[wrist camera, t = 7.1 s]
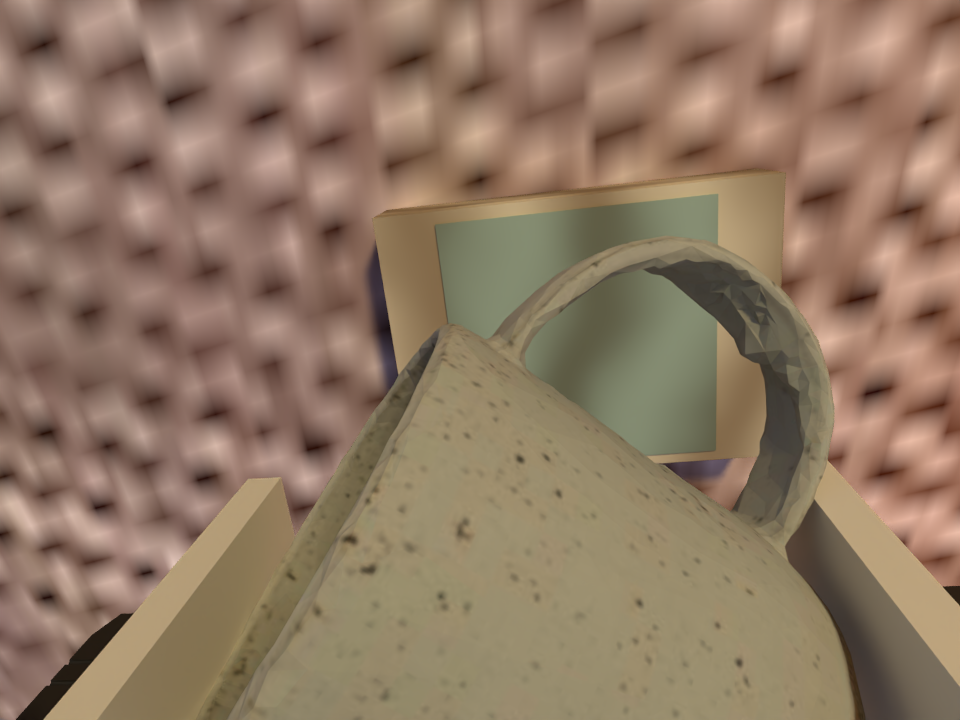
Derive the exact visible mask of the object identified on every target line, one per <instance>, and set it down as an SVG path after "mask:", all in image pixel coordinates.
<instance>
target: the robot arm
mask: <svg viewBox="0 0 960 720" xmlns="http://www.w3.org/2000/svg"><path fill="white" fill-rule="evenodd" d="M294 539H295V535H294V531H293V527H292V522H291V518H290V514H289V510H288V505H287V501H286V497H285V492H284V488H283V484H282V480H281V477H277V478H259V479H248V480H247V481H246V482H245V484H244V485H243V486H242V487H241V488H240V489H239V491H238V492H237V493H236V494H235V495H234V496H233V498H232V499H231V500H230V501H229V502H228V503H227V505H226V506H225V507H224V508H223V509H222V511H221V512H220V513H219V514H218V515H217V516H216V518H215V519H214V520H213V521H212V522H211V523H210V525H209V526H208V527H207V528H206V529H205V530H204V532H203V533H202V534H201V535H200V536H199V538H198V539H197V540H196V541H195V542H194V543H193V545H192V546H191V547H190V548H189V549H188V550H187V552H186V553H185V554H184V555H183V556H182V557H181V559H180V560H179V561H178V562H177V563H176V565H175V566H174V567H173V568H172V569H171V570H170V572H169V573H168V574H167V575H166V576H165V577H164V579H163V580H162V581H161V582H160V583H159V584H158V586H157V587H156V588H155V589H154V590H153V592H152V593H151V594H150V595H149V596H148V597H147V599H146V600H145V601H144V602H143V603H142V604H141V606H140V607H139V608H138V609H137V610H136V611H135V613H132V614H120V615H119V616H118V617H116V618H115V619H113V620H112V621H111V622H109V623H108V624H107V625H105V626H104V627H102V628H101V629H100V630H98V631H97V632H95V633H94V634H93V635H91V637H90V638H89V639H88V640H87V641H86V642H85V643H84V644H83V645H82V647H81V648H80V649H79V650H78V651H77V652H76V653H75V654H74V655H73V657H72V658H71V659H70V662H69V664H68V665H64V667H63V668H62V669H61V670H60V671H59V672H58V673H57V674H56V675H55V677H54V678H53V679H52V680H51V684H50V686H46V687H45V688H44V689H43V690H42V691H41V692H40V693H39V694H38V695H37V697H36V698H35V699H34V700H33V701H32V702H31V703H30V704H29V705H28V707H27V708H26V709H25V710H24V711H23V712H22V713H21V714H20V715H19V717H18V718H17V719H16V720H196V718H197V716H198V714H199V711H200V710H201V708H202V706H203V704H204V702H205V700H206V698H207V696H208V694H209V693H210V691H211V689H212V688H213V686H214V684H215V682H216V680H217V678H218V676H219V675H220V673H221V671H222V669H223V668H224V666H225V664H226V663H227V661H228V659H229V657H230V655H231V654H232V652H233V650H234V647H235V645H236V643H237V641H238V639H239V637H240V635H241V634H242V631H243V629H244V627H245V625H246V623H247V621H248V619H249V617H250V615H251V613H252V611H253V609H254V607H255V606H256V604H257V603H258V601H259V600H260V598H261V596H262V595H263V593H264V591H265V589H266V587H267V585H268V583H269V581H270V579H271V577H272V575H273V573H274V571H275V569H276V567H277V566H278V564H279V563H280V561H281V560H282V558H283V556H284V555H285V553H286V552H287V550H288V549H289V547H290V546H291V544H292V542H293V540H294ZM785 550H786V554H787V557H788V561H789V563H790V564H791V565H792V566H793V568H794V569H795V570H796V571H797V572H798V573H799V574H800V575H801V576H802V577H803V578H804V579H805V580H806V581H807V582H808V583H809V584H810V585H811V586H812V588H813V589H814V590H815V592H816V593H817V594H818V596H819V597H820V598H821V599H822V601H823V602H824V603H825V605H826V606H827V607H828V609H829V610H830V612H831V614H832V616H833V617H834V619H835V621H836V623H837V625H838V626H839V628H840V630H841V632H842V634H843V636H844V639H845V641H846V644H847V646H848V649H849V651H850V653H851V657H852V661H853V665H854V670H855V674H856V678H857V683H858V687H859V691H860V696H861V700H862V704H863V708H864V713H865V719H866V720H960V586H946V587H942V586H941V585H940V584H939V582H938V581H937V580H936V579H935V578H934V577H933V576H932V575H931V574H930V573H929V571H928V570H927V569H926V568H925V567H924V566H923V565H922V564H921V563H920V562H919V560H918V559H917V558H916V557H915V556H914V555H913V554H912V553H911V552H910V551H909V549H908V548H907V547H906V546H905V545H904V544H903V543H902V542H901V541H900V540H899V538H898V537H897V536H896V535H895V534H894V533H893V532H892V531H891V530H890V529H889V527H888V526H887V525H886V524H885V523H884V522H883V521H882V520H881V519H880V518H879V516H878V515H877V514H876V513H875V512H874V511H873V510H872V509H871V508H870V507H869V505H868V504H867V503H866V502H865V501H864V500H863V499H862V498H861V497H860V496H859V494H858V493H857V492H856V491H855V490H854V489H853V488H852V487H851V486H850V485H849V483H848V482H847V481H846V480H845V479H844V478H843V477H842V476H841V475H840V474H839V472H838V471H837V470H836V469H835V468H834V467H833V466H832V465H831V464H830V463H829V461H828V460H827V465H826V469H825V471H824V474H823V477H822V479H821V481H820V483H819V485H818V488H817V490H816V494H815V497H814V501H813V502H812V504H811V506H810V508H809V509H808V511H807V513H806V515H805V517H804V519H803V521H802V523H801V525H800V527H799V528H798V529H797V530H796V532H795V533H794V534H793V535H792V536H791V537H790V539H789V541H788V542H787V544H786V546H785Z"/></svg>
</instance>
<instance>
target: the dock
mask: <svg viewBox="0 0 960 720" xmlns="http://www.w3.org/2000/svg"><path fill="white" fill-rule="evenodd" d="M785 182H786V173H785V172H778V171H771V170H764V169H750V170H741V171H732V172H723V173H714V174H705V175H696V176H687V177H678V178H670V179H661V180H652V181H643V182H634V183H625V184H616V185H607V186H598V187H589V188H580V189H571V190H562V191H554V192H545V193H536V194H527V195H518V196H509V197H500V198H491V199H482V200H473V201H464V202H455V203H446V204H438V205H429V206H420V207H411V208H402V209H393V210H387V211H385V212H383V213H381V214H379V215H378V216H376V217H374V218H372V220H373V226H374V232H375V238H376V244H377V250H378V256H379V262H380V268H381V274H382V280H383V286H384V292H385V298H386V304H387V310H388V316H389V322H390V328H391V334H392V340H393V346H394V351H395V357H396V363H397V369H398V375H399V374H400V372H401V371H402V370H403V369H404V368H405V366H406V365H407V364H408V362H409V361H410V360H411V358H412V357H413V356H414V355H415V354H416V353H417V351H418V350H419V349H420V347H421V345H422V344H423V343H424V342H425V341H426V340H427V339H428V338H429V337H430V336H431V335H432V334H433V333H434V332H435V331H436V330H437V329H438V328H440V327H441V326H442V325H445V324H449V323H452V324H457V325H462V326H463V327H465V328H467V329H468V330H470V331H472V332H473V333H475V334H477V335H479V336H480V337H482V338H484V339H488V338H490V337H491V336H492V335H493V334H494V333H495V332H496V330H497V329H498V328H499V326H500V325H501V324H502V322H503V321H504V320H505V319H506V318H507V317H508V316H509V315H510V314H511V313H512V312H513V311H514V310H515V309H517V308H518V307H519V306H520V305H521V304H522V303H523V302H524V301H525V300H526V299H527V298H529V297H530V296H531V295H532V294H533V293H534V292H535V291H536V290H538V289H539V288H540V287H541V286H543V285H544V284H545V283H547V282H548V281H549V280H550V279H552V278H553V277H554V276H555V275H557V274H558V273H559V272H561V271H563V270H565V269H567V268H569V267H571V266H573V265H575V264H576V263H578V262H580V261H582V260H585V259H587V258H589V257H591V256H593V255H595V254H598V253H600V252H603V251H605V250H607V249H609V248H612V247H615V246H619V245H622V244H625V243H628V242H633V241H639V240H645V239H650V238H656V237H661V236H674V237H683V238H691V239H698V240H707V241H709V242H712V243H714V244H717V245H719V246H721V247H723V248H725V249H727V250H728V251H730V252H732V253H734V254H736V255H738V256H740V257H742V258H743V259H745V260H747V261H748V262H749V263H751V264H752V265H753V266H755V267H756V268H757V269H758V270H759V271H761V272H762V273H763V274H764V275H766V276H767V277H768V278H769V279H771V280H772V281H773V282H774V283H775V284H776V285H777V286H779V287H780V288H781V276H782V252H783V229H784V205H785ZM525 361H526V369H528V370H529V371H530V372H532V373H533V374H534V375H535V376H537V377H538V378H539V379H541V380H542V381H544V382H545V383H547V384H549V385H551V386H552V387H554V388H555V389H556V390H557V391H558V392H559V393H560V394H562V395H564V396H565V397H566V398H567V399H568V400H570V401H572V402H574V403H576V404H578V405H579V406H580V407H581V408H583V409H584V410H585V411H587V412H588V413H589V414H591V415H592V416H594V417H595V418H596V419H598V420H599V421H600V422H602V423H603V424H604V425H606V426H607V427H609V428H610V429H611V430H613V431H614V432H616V433H617V434H618V435H620V436H621V437H622V438H623V439H624V440H626V441H627V442H628V443H629V444H630V445H632V446H633V447H634V448H636V449H637V450H639V451H640V452H641V453H643V454H644V455H645V456H647V457H648V458H649V459H651V460H652V461H653V462H654V463H656V464H658V463H673V462H687V461H701V460H716V459H730V458H745V457H758V455H759V451H760V440H761V437H762V435H763V432H764V427H765V422H766V393H765V382H764V377H763V374H762V371H761V368H760V364H759V363H754V362H752V361H750V360H748V359H747V358H745V357H743V356H741V355H740V353H739V350H738V348H737V346H736V343H735V341H734V338H733V337H732V336H731V335H730V334H729V333H728V332H727V331H726V330H725V328H724V327H723V326H722V325H721V324H720V323H719V322H718V321H717V320H716V319H715V318H714V317H713V316H712V315H711V314H709V313H708V312H707V311H705V310H704V309H703V308H702V307H700V306H699V305H698V304H697V303H696V302H694V301H693V300H692V299H691V298H690V297H689V296H687V295H686V294H685V293H684V292H683V291H682V290H680V289H679V288H678V287H677V286H676V285H675V284H673V283H672V282H671V281H670V280H668V279H667V278H665V277H663V276H661V275H654V274H650V273H649V272H647V271H645V270H643V269H642V270H638V271H635V272H629V273H621V274H619V275H616V276H614V277H612V278H610V279H608V280H606V281H603V282H601V283H599V284H598V285H596V286H595V287H594V288H592V289H591V290H590V291H588V292H587V293H585V294H584V295H583V296H581V297H580V298H578V299H577V300H576V301H574V302H573V303H572V304H570V305H569V306H567V307H566V308H565V309H564V310H563V311H562V312H561V313H560V314H559V315H557V316H555V317H554V318H552V319H551V320H549V321H547V322H546V324H545V325H544V326H543V327H542V328H541V329H540V331H539V332H538V333H537V334H536V335H535V336H534V337H533V339H532V341H531V343H530V345H529V347H528V348H527V350H526V352H525Z"/></svg>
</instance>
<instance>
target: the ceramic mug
mask: <svg viewBox="0 0 960 720" xmlns="http://www.w3.org/2000/svg"><path fill="white" fill-rule="evenodd" d="M642 269H643V270H645V271H647V272H649V273H650V274H654V275H661V276H663V277H665V278H667V279H668V280H670V281H671V282H672V283H673V284H675V285H676V286H677V287H678V288H679V289H680V290H682V291H683V292H684V293H685V294H686V295H687V296H689V297H690V298H691V299H692V300H693V301H694V302H696V303H697V304H698V305H699V306H700V307H702V308H703V309H704V310H705V311H707V312H708V313H709V314H711V315H712V316H713V317H714V318H715V319H716V320H717V321H718V322H719V323H720V324H721V325H722V326H723V327H724V328H725V330H726V331H727V332H728V333H729V334H730V335H731V336H732V337H733V338H734V341H735V343H736V346H737V348H738V350H739V353H740V355H741V356H743V357H745V358H747V359H748V360H750V361H752V362H754V363H759V364H760V368H761V371H762V374H763V377H764V382H765V393H766V422H765V427H764V432H763V435H762V437H761V440H760V451H759V455H758V457H757V460H756V462H755V464H754V466H753V468H752V470H751V472H750V475H749V478H748V481H747V484H746V486H745V488H744V489H743V491H742V492H741V494H740V496H739V498H738V500H737V502H736V504H735V506H734V507H733V509H732V510H731V512H730V511H728V510H727V509H725V508H724V507H722V506H721V505H720V504H718V503H717V502H715V501H714V500H712V499H711V498H709V497H708V496H707V495H705V494H703V493H702V492H700V491H699V490H698V489H696V488H695V487H693V486H692V485H690V484H689V483H687V482H686V481H684V480H683V479H682V478H680V477H679V476H678V475H677V474H675V473H674V472H673V471H671V470H670V469H669V468H668V467H666V466H665V465H662V464H656V463H654V462H653V461H652V460H651V459H649V458H648V457H647V456H645V455H644V454H643V453H641V452H640V451H639V450H637V449H636V448H634V447H633V446H632V445H630V444H629V443H628V442H627V441H626V440H624V439H623V438H622V437H621V436H620V435H618V434H617V433H616V432H614V431H613V430H611V429H610V428H609V427H607V426H606V425H604V424H603V423H602V422H600V421H599V420H598V419H596V418H595V417H594V416H592V415H591V414H589V413H588V412H587V411H585V410H584V409H583V408H581V407H580V406H579V405H578V404H576V403H574V402H572V401H570V400H568V399H567V398H566V397H565V396H564V395H562V394H560V393H559V392H558V391H557V390H556V389H555V388H554V387H552V386H551V385H549V384H547V383H545V382H544V381H542V380H541V379H539V378H538V377H537V376H535V375H534V374H533V373H532V372H530V371H529V370H528V369H526V361H525V352H526V350H527V348H528V347H529V345H530V343H531V341H532V339H533V337H534V336H535V335H536V334H537V333H538V332H539V331H540V329H541V328H542V327H543V326H544V325H545V324H546V322H547V321H549V320H551V319H552V318H554V317H555V316H557V315H559V314H560V313H561V312H562V311H563V310H564V309H565V308H566V307H567V306H569V305H570V304H572V303H573V302H574V301H576V300H577V299H578V298H580V297H581V296H583V295H584V294H585V293H587V292H588V291H590V290H591V289H592V288H594V287H595V286H596V285H598V284H599V283H601V282H603V281H606V280H608V279H610V278H612V277H614V276H616V275H619V274H621V273H629V272H635V271H638V270H642ZM833 427H834V403H833V397H832V390H831V384H830V378H829V373H828V370H827V367H826V363H825V360H824V357H823V354H822V351H821V348H820V345H819V342H818V339H817V338H816V336H815V335H814V333H813V331H812V330H811V328H810V326H809V325H808V323H807V321H806V320H805V318H804V317H803V315H802V314H801V313H800V312H799V310H798V309H797V308H796V306H795V305H794V303H793V302H792V300H791V299H790V298H789V297H788V295H787V294H786V293H785V292H784V291H783V290H782V289H781V288H780V287H779V286H777V285H776V284H775V283H774V282H773V281H772V280H771V279H769V278H768V277H767V276H766V275H764V274H763V273H762V272H761V271H759V270H758V269H757V268H756V267H755V266H753V265H752V264H751V263H749V262H748V261H747V260H745V259H743V258H742V257H740V256H738V255H736V254H734V253H732V252H730V251H728V250H727V249H725V248H723V247H721V246H719V245H717V244H714V243H712V242H709V241H707V240H698V239H691V238H683V237H674V236H661V237H656V238H650V239H645V240H639V241H633V242H628V243H625V244H622V245H619V246H615V247H612V248H609V249H607V250H605V251H603V252H600V253H598V254H595V255H593V256H591V257H589V258H587V259H585V260H582V261H580V262H578V263H576V264H575V265H573V266H571V267H569V268H567V269H565V270H563V271H561V272H559V273H558V274H557V275H555V276H554V277H553V278H552V279H550V280H549V281H548V282H547V283H545V284H544V285H543V286H541V287H540V288H539V289H538V290H536V291H535V292H534V293H533V294H532V295H531V296H530V297H529V298H527V299H526V300H525V301H524V302H523V303H522V304H521V305H520V306H519V307H518V308H517V309H515V310H514V311H513V312H512V313H511V314H510V315H509V316H508V317H507V318H506V319H505V320H504V321H503V322H502V324H501V325H500V326H499V328H498V329H497V330H496V332H495V333H494V334H493V335H492V336H491V337H490V338H488V339H484V338H482V337H480V336H479V335H477V334H475V333H473V332H472V331H470V330H468V329H467V328H465V327H463V326H462V325H457V324H452V323H449V324H445V325H442V326H441V327H440V328H438V329H437V330H436V331H435V332H434V333H433V334H432V335H431V336H430V337H429V338H428V339H427V340H426V341H425V342H424V343H423V344H422V345H421V347H420V349H419V350H418V351H417V353H416V354H415V355H414V356H413V357H412V358H411V360H410V361H409V362H408V364H407V365H406V366H405V368H404V369H403V370H402V371H401V372H400V374H399V375H398V377H397V379H396V381H395V383H394V385H393V386H392V388H391V389H390V391H389V392H388V394H387V395H386V396H385V398H384V399H383V400H382V402H381V403H380V404H379V405H378V407H377V408H376V409H375V410H374V412H373V413H372V415H371V416H370V418H369V420H368V421H367V423H366V424H365V426H364V427H363V429H362V431H361V432H360V434H359V435H358V437H357V439H356V440H355V442H354V443H353V445H352V446H351V448H350V450H349V451H348V453H347V454H346V455H345V456H344V457H343V459H342V460H341V462H340V464H339V466H338V468H337V470H336V472H335V474H334V475H333V476H332V477H331V479H330V480H329V482H328V484H327V485H326V487H325V489H324V491H323V492H322V494H321V496H320V497H319V499H318V501H317V503H316V504H315V506H314V507H313V509H312V511H311V512H310V514H309V515H308V517H307V518H306V520H305V521H304V523H303V525H302V526H301V528H300V530H299V532H298V533H297V535H296V537H295V539H294V540H293V542H292V544H291V546H290V547H289V549H288V550H287V552H286V553H285V555H284V556H283V558H282V560H281V561H280V563H279V564H278V566H277V567H276V569H275V571H274V573H273V575H272V577H271V579H270V581H269V583H268V585H267V587H266V589H265V591H264V593H263V595H262V596H261V598H260V600H259V601H258V603H257V604H256V606H255V607H254V609H253V611H252V613H251V615H250V617H249V619H248V621H247V623H246V625H245V627H244V629H243V631H242V634H241V635H240V637H239V639H238V641H237V643H236V645H235V647H234V650H233V652H232V654H231V655H230V657H229V659H228V661H227V663H226V664H225V666H224V668H223V669H222V671H221V673H220V675H219V676H218V678H217V680H216V682H215V684H214V686H213V688H212V689H211V691H210V693H209V694H208V696H207V698H206V700H205V702H204V704H203V706H202V708H201V710H200V711H199V714H198V716H197V718H196V720H866V719H865V713H864V708H863V704H862V700H861V696H860V691H859V687H858V683H857V678H856V674H855V670H854V665H853V661H852V657H851V653H850V651H849V649H848V646H847V644H846V641H845V639H844V636H843V634H842V632H841V630H840V628H839V626H838V625H837V623H836V621H835V619H834V617H833V616H832V614H831V612H830V610H829V609H828V607H827V606H826V605H825V603H824V602H823V601H822V599H821V598H820V597H819V596H818V594H817V593H816V592H815V590H814V589H813V588H812V586H811V585H810V584H809V583H808V582H807V581H806V580H805V579H804V578H803V577H802V576H801V575H800V574H799V573H798V572H797V571H796V570H795V569H794V568H793V566H792V565H791V564H790V563H789V561H788V557H787V554H786V550H785V546H786V544H787V542H788V541H789V539H790V537H791V536H792V535H793V534H794V533H795V532H796V530H797V529H798V528H799V527H800V525H801V523H802V521H803V519H804V517H805V515H806V513H807V511H808V509H809V508H810V506H811V504H812V502H813V501H814V497H815V494H816V490H817V488H818V485H819V483H820V481H821V479H822V477H823V474H824V471H825V469H826V465H827V459H828V453H829V448H830V442H831V437H832V432H833Z"/></svg>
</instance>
